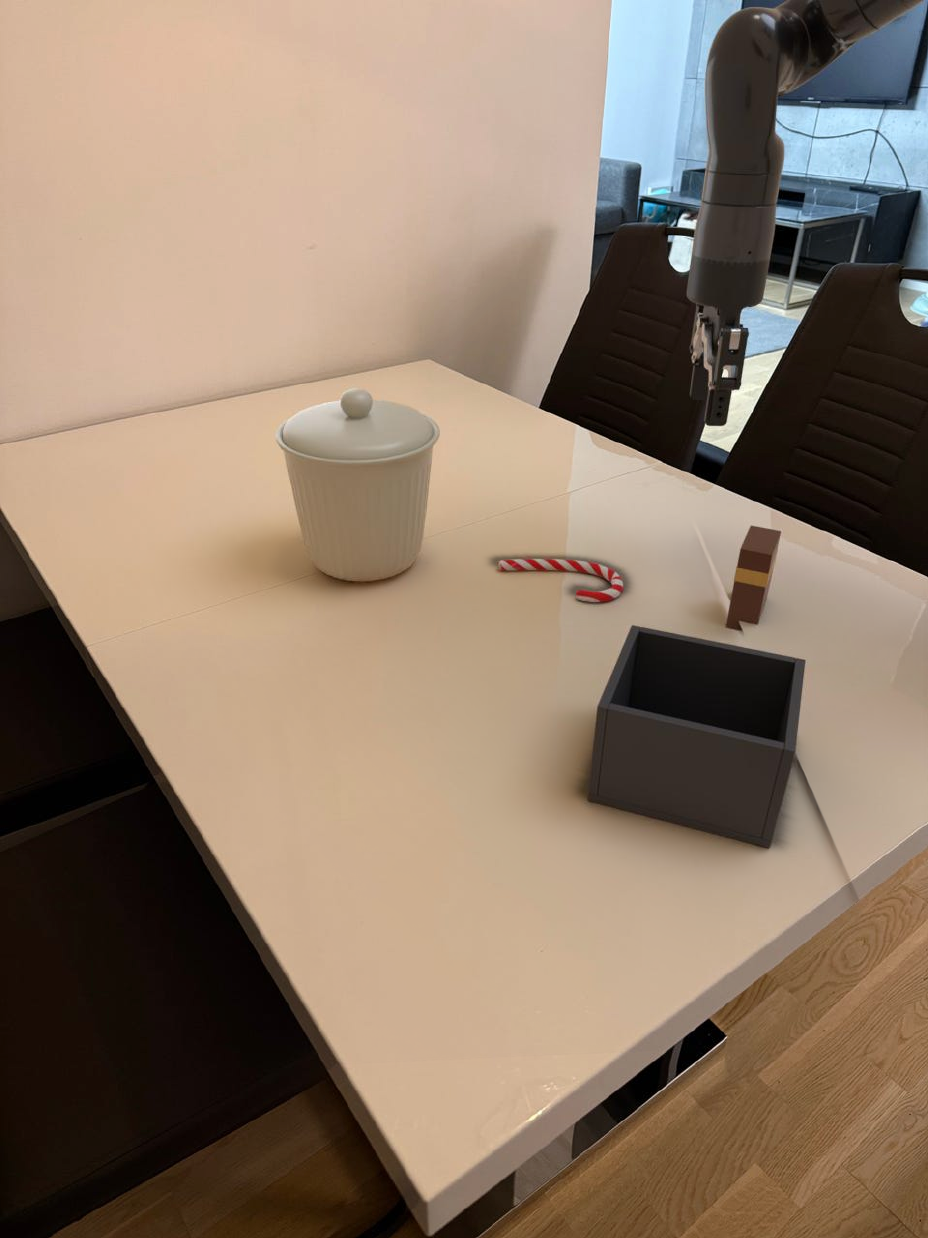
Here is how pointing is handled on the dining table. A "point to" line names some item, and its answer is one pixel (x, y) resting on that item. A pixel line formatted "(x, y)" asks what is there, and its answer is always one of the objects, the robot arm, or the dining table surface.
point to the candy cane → (571, 566)
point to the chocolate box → (753, 576)
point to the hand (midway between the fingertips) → (706, 411)
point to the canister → (360, 483)
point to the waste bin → (697, 734)
